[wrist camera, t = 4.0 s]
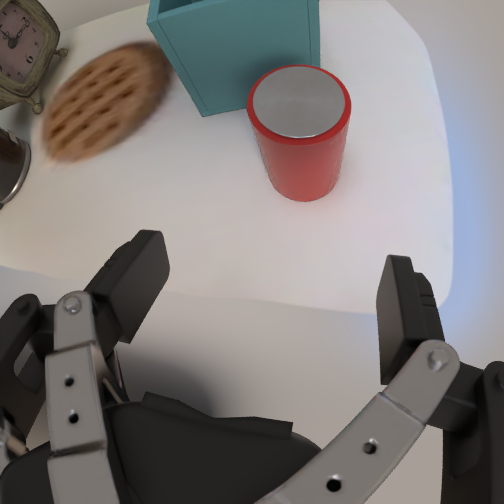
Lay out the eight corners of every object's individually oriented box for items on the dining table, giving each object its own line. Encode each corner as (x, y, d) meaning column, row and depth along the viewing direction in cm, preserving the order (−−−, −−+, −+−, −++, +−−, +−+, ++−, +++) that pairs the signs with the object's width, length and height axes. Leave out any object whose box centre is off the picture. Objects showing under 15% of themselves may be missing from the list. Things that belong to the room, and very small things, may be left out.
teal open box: (320, 96, 28) (318, -13, 15) (202, 117, 30) (146, 24, 17) (293, 14, 31) (281, -75, 18) (199, 32, 32) (161, -49, 19)
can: (312, 215, 26) (313, 164, 16) (253, 175, 28) (224, 111, 18) (352, 161, 27) (370, 91, 17) (295, 125, 28) (285, 49, 18)
